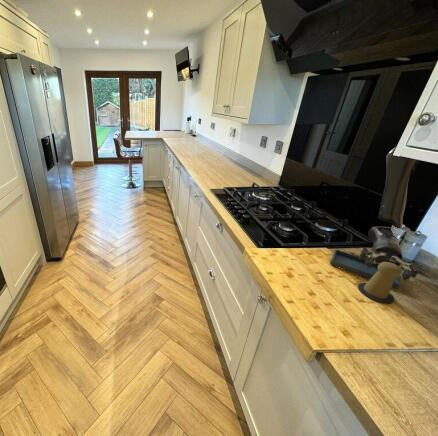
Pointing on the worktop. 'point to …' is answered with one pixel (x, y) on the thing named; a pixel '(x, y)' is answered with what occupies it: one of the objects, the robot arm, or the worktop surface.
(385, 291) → the cork
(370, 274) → the tray
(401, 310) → the worktop surface
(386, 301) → the coaster
